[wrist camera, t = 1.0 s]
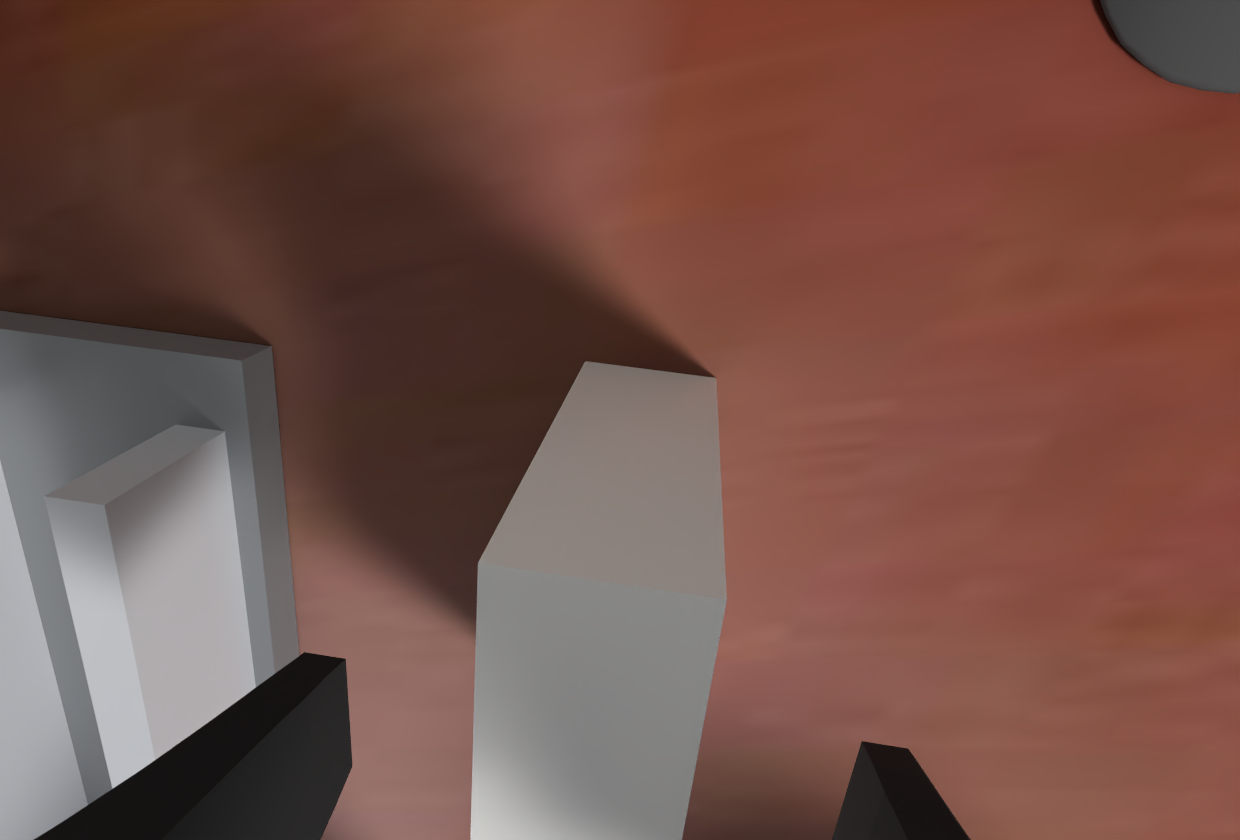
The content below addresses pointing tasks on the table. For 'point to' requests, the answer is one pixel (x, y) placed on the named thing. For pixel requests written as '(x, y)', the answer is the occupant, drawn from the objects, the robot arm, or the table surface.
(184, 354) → the rack
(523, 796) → the tile
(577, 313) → the table surface
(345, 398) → the table surface
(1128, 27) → the sundae
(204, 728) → the robot arm
